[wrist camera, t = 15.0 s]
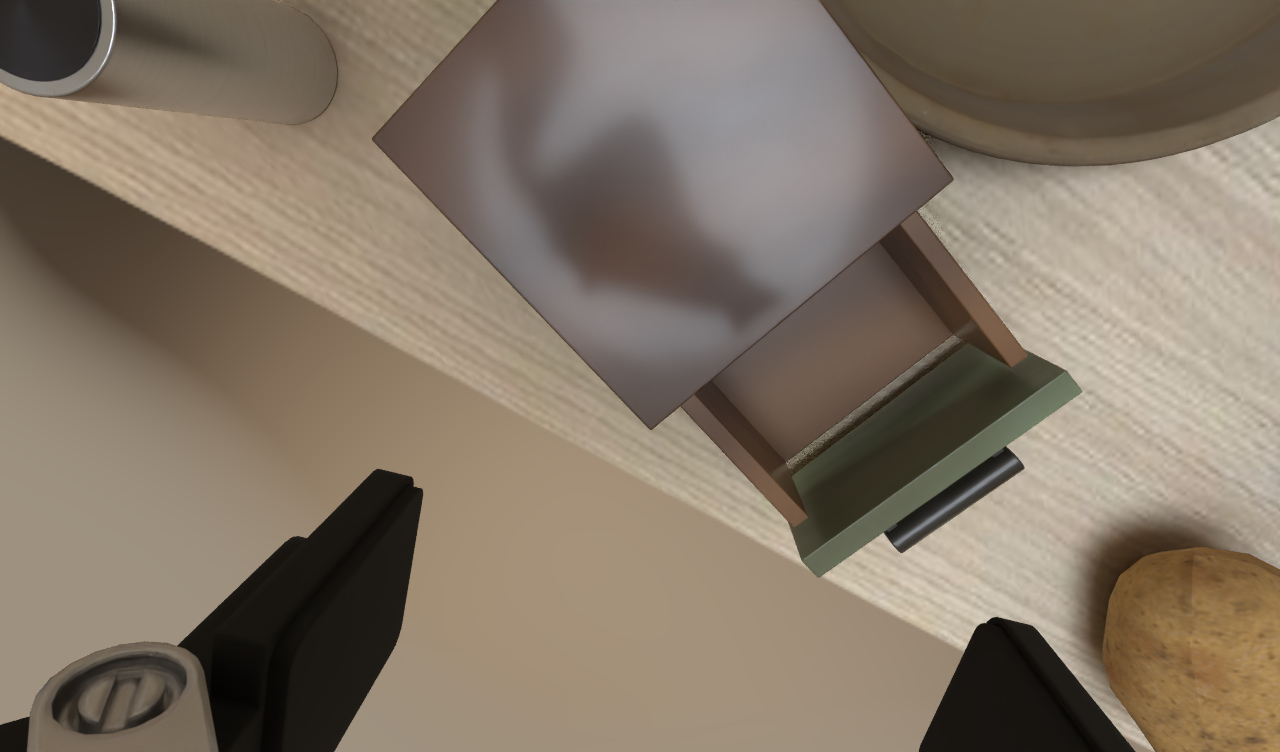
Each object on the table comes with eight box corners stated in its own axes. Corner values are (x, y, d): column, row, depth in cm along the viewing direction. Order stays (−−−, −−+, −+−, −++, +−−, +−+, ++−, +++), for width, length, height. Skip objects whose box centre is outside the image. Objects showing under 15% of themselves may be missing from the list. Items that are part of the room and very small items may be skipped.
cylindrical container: (207, 62, 31) (-106, -9, 18) (274, -21, 29) (-11, -159, 17) (292, 147, 32) (50, 135, 19) (360, 70, 30) (150, 3, 18)
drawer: (1047, 408, 33) (1140, 467, 27) (839, 556, 36) (877, 641, 30) (829, 128, 30) (875, 117, 23) (617, 317, 33) (606, 354, 26)
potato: (1131, 703, 41) (1118, 810, 36) (1089, 503, 38) (1067, 584, 33) (1362, 747, 34) (1390, 887, 29) (1331, 508, 32) (1356, 611, 26)
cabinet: (878, 176, 31) (955, 179, 23) (653, 368, 34) (650, 431, 26) (671, -91, 28) (675, -198, 20) (447, 146, 31) (369, 138, 23)
